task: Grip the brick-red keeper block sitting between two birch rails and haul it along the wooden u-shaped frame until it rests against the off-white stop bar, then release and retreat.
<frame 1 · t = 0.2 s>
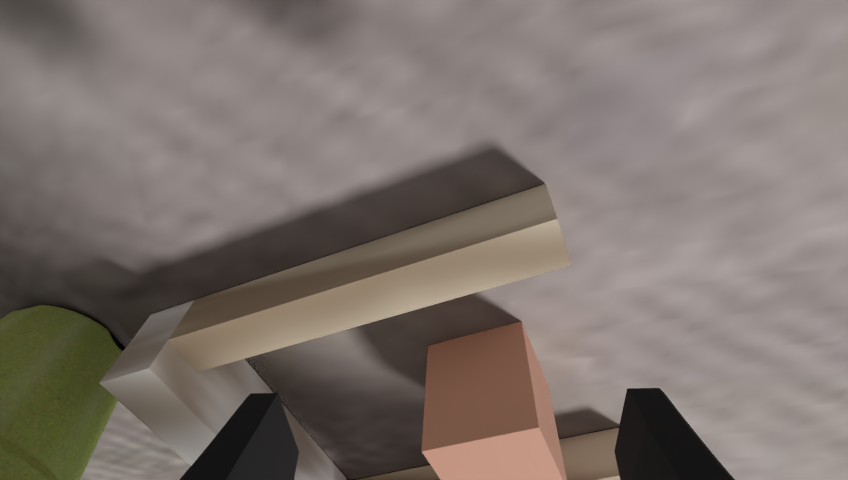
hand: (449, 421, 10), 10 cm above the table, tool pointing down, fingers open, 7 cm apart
wooden u-shaped frame: (431, 381, 24), on the table
keeper block: (489, 365, 24), on the table
plant pot: (73, 346, 25), on the table
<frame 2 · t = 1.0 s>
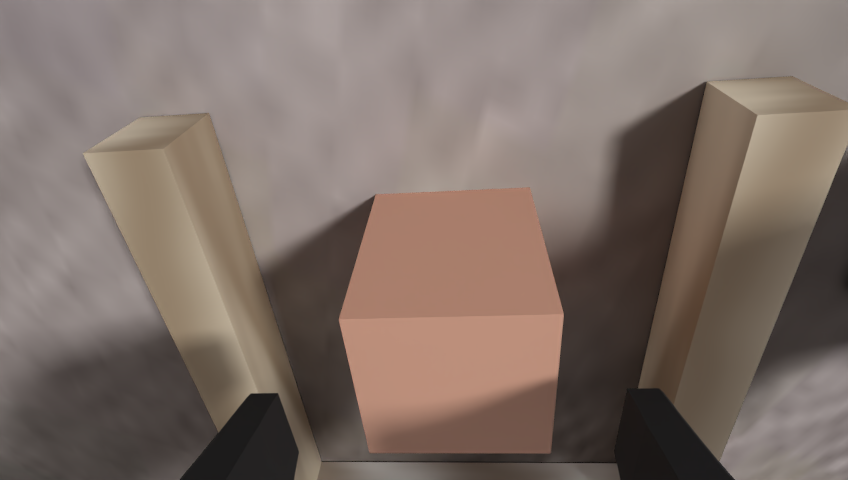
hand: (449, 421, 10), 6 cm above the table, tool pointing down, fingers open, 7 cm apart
wooden u-shaped frame: (459, 325, 17), on the table
keeper block: (455, 253, 16), on the table
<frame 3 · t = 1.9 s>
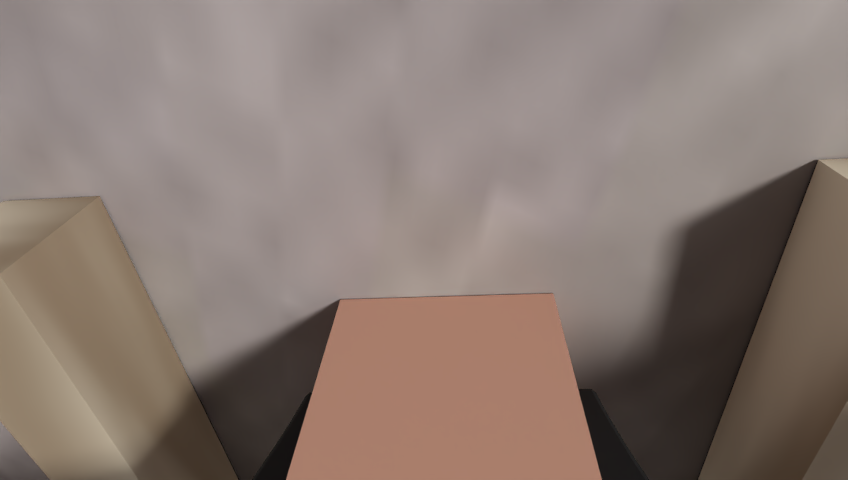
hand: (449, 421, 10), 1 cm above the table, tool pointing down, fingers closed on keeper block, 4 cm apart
wooden u-shaped frame: (456, 449, 13), on the table
keeper block: (450, 370, 12), on the table, touching gripper
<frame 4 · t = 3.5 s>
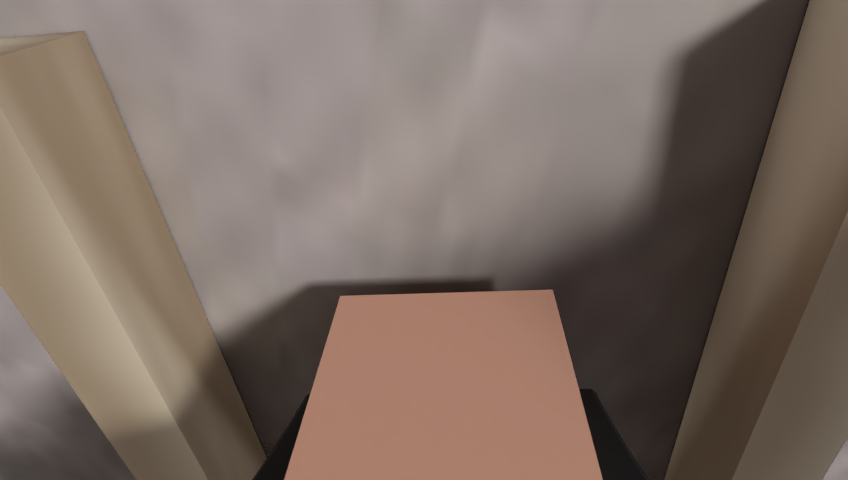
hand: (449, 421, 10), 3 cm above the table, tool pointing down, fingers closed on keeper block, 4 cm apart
wooden u-shaped frame: (452, 334, 13), on the table
keeper block: (450, 367, 12), point 1 cm above the table, touching gripper
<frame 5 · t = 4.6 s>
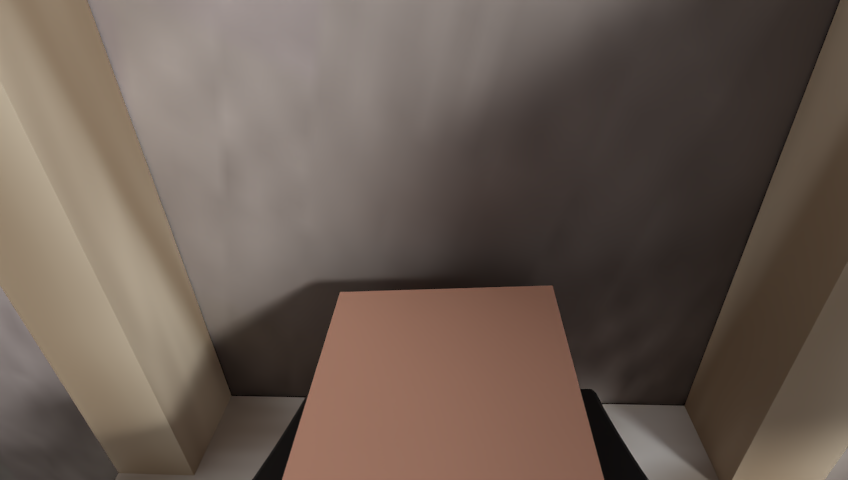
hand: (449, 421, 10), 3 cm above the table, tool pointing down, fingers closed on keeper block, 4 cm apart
wooden u-shaped frame: (450, 135, 10), on the table
keeper block: (449, 363, 12), point 1 cm above the table, touching gripper
when the fingers open (2 cm above the table, at t = 5.3 s): keeper block stays where it is, on the table.
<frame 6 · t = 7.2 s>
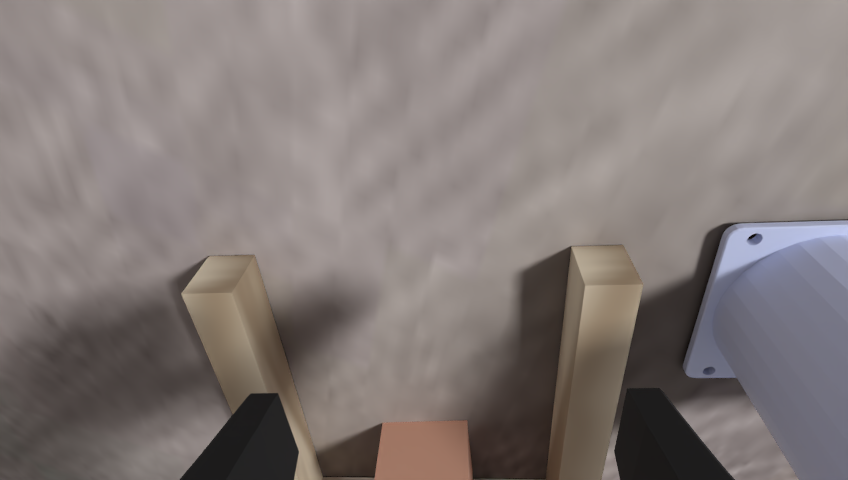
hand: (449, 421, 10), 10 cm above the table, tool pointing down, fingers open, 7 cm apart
wooden u-shaped frame: (422, 384, 24), on the table
keeper block: (429, 447, 27), on the table
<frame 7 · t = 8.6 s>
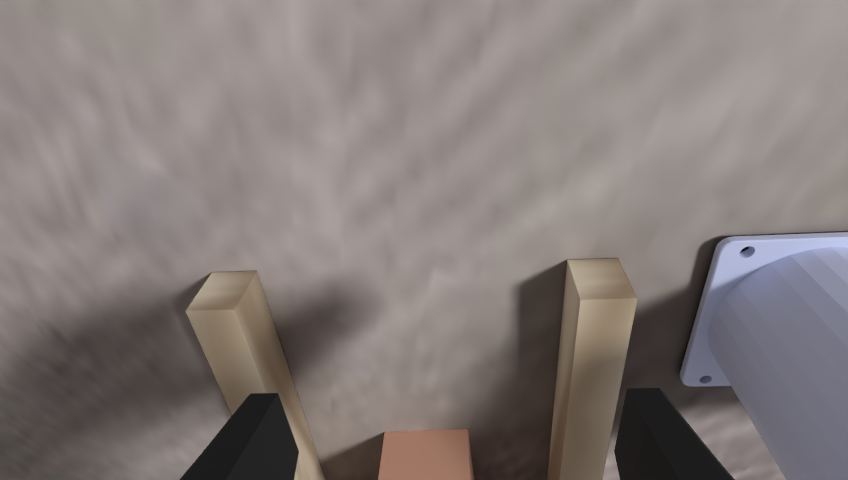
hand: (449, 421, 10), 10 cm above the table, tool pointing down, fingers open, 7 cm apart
wooden u-shaped frame: (423, 394, 25), on the table
keeper block: (431, 455, 28), on the table
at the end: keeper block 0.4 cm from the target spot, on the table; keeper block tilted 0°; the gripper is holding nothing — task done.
